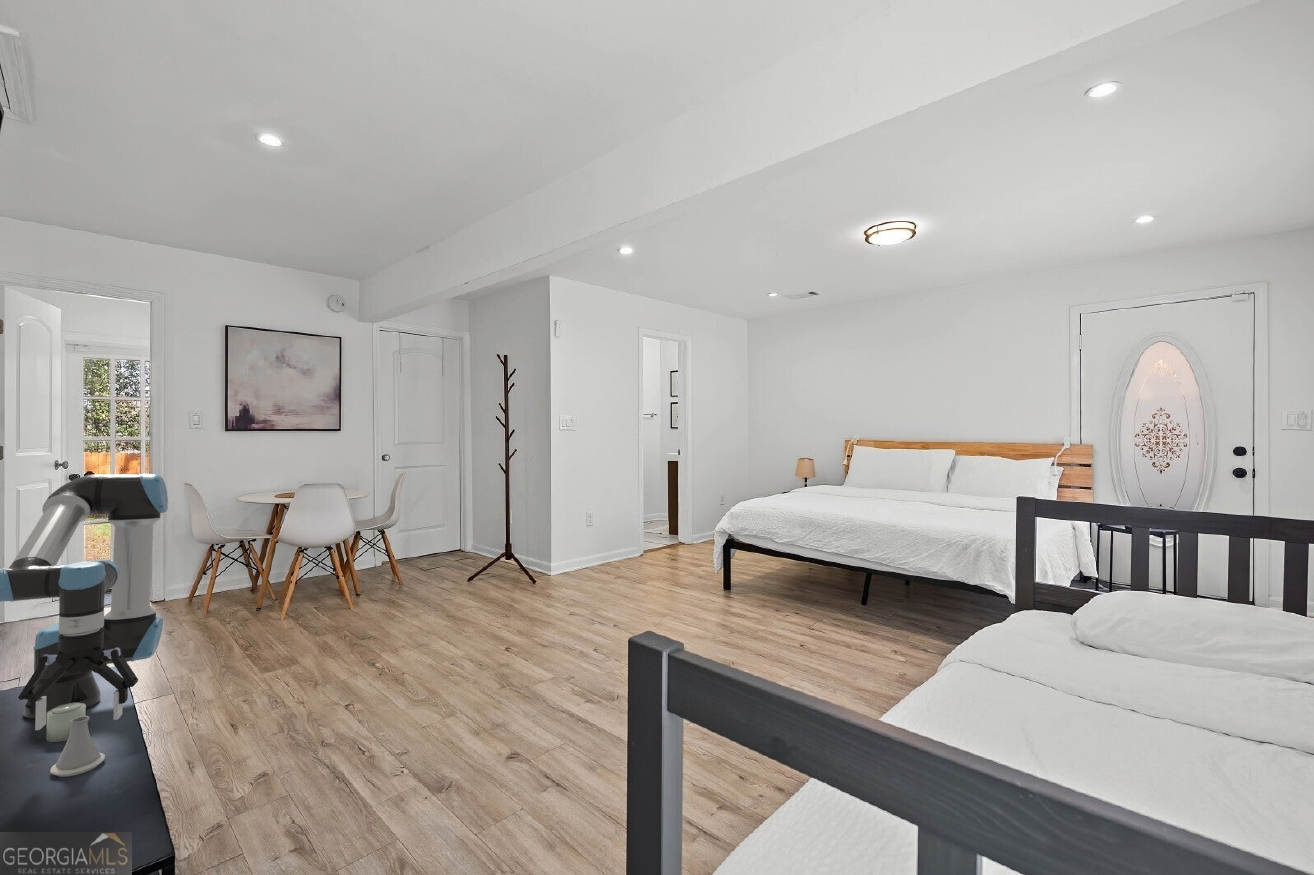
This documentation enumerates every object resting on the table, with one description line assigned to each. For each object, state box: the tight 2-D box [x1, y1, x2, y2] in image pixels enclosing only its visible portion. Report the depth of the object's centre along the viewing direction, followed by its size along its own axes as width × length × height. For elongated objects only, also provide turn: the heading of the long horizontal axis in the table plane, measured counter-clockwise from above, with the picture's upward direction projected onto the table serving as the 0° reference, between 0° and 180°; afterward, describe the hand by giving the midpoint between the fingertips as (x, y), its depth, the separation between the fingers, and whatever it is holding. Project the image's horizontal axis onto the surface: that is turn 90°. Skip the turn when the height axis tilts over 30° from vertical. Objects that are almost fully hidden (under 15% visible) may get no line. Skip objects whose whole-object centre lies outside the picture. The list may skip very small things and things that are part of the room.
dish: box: [49, 751, 106, 778], centre depth 137 cm, size 9×9×1 cm
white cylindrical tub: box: [46, 703, 87, 743], centre depth 152 cm, size 7×7×7 cm
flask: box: [55, 715, 101, 770], centre depth 138 cm, size 7×7×10 cm
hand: (80, 722), depth 138 cm, fingers open, 13 cm apart
